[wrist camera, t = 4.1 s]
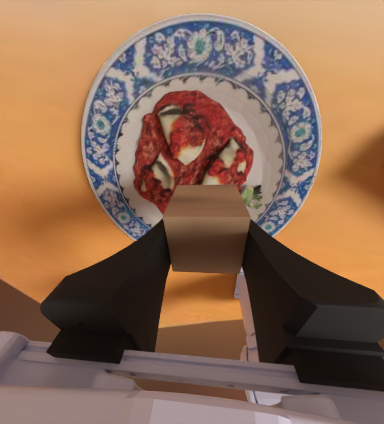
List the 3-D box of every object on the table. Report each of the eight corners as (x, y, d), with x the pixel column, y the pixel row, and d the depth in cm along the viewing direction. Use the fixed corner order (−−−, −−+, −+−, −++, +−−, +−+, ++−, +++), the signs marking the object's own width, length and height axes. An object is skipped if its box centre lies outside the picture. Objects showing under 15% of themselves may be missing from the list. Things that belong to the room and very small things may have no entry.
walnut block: (230, 230, 13) (239, 274, 10) (182, 230, 14) (172, 271, 10) (235, 184, 11) (250, 217, 7) (177, 185, 12) (162, 216, 8)
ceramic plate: (70, 190, 21) (51, 199, 19) (165, -91, 9) (151, -168, 7) (205, 271, 28) (204, 286, 26) (356, 166, 16) (383, 174, 14)
